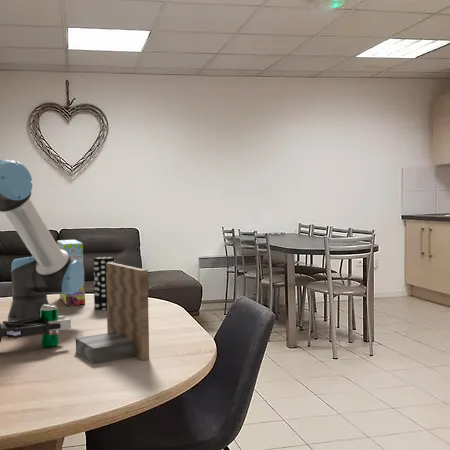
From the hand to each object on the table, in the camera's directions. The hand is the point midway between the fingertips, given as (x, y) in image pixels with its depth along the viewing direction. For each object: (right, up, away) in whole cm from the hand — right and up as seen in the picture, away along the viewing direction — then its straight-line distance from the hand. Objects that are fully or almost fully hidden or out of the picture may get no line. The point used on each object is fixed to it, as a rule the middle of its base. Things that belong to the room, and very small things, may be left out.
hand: (67, 321), depth 170 cm
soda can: (-4, -7, -3) cm, 9 cm away
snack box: (-18, -4, +72) cm, 74 cm away
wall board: (+15, -7, -12) cm, 20 cm away
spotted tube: (0, -4, +56) cm, 56 cm away
